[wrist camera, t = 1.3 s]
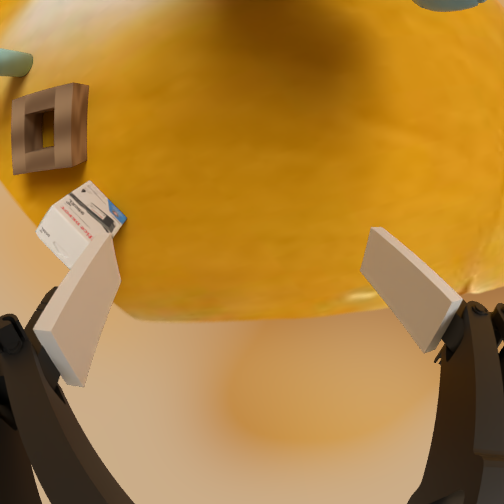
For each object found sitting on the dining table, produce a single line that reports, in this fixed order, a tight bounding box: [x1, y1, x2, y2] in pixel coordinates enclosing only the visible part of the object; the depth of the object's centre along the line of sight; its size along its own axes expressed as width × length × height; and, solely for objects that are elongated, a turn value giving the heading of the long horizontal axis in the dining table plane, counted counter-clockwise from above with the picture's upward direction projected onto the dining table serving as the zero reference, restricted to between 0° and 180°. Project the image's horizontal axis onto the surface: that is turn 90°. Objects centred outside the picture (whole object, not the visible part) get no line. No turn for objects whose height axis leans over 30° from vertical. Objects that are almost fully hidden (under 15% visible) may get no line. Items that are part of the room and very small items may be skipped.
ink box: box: [35, 181, 127, 269], centre depth 30 cm, size 8×5×12 cm, turn 38°
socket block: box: [11, 83, 89, 175], centre depth 26 cm, size 11×11×5 cm
